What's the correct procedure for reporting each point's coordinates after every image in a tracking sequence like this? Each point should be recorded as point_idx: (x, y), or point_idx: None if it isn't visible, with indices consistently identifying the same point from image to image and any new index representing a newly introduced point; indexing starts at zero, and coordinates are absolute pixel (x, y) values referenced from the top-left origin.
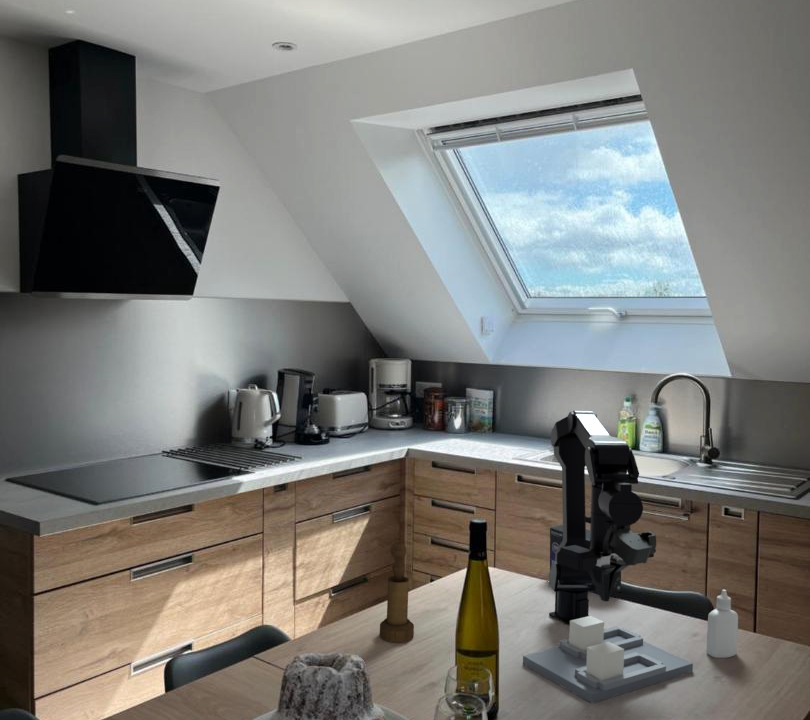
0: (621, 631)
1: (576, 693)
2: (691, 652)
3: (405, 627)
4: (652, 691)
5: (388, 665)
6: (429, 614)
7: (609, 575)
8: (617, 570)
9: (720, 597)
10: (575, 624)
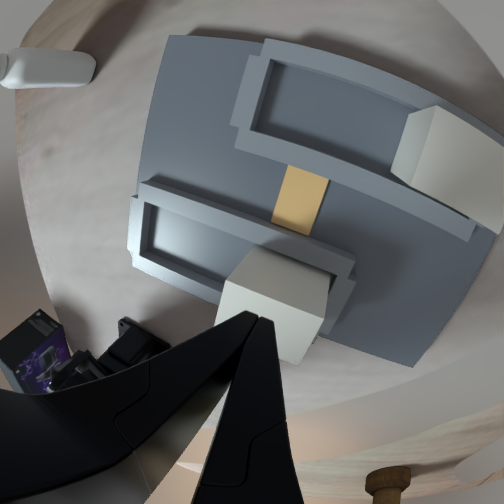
0: (141, 246)
1: None
2: (100, 104)
3: (398, 483)
4: (363, 49)
5: (475, 445)
6: (296, 475)
7: (209, 482)
8: (77, 461)
9: None
10: (308, 345)
